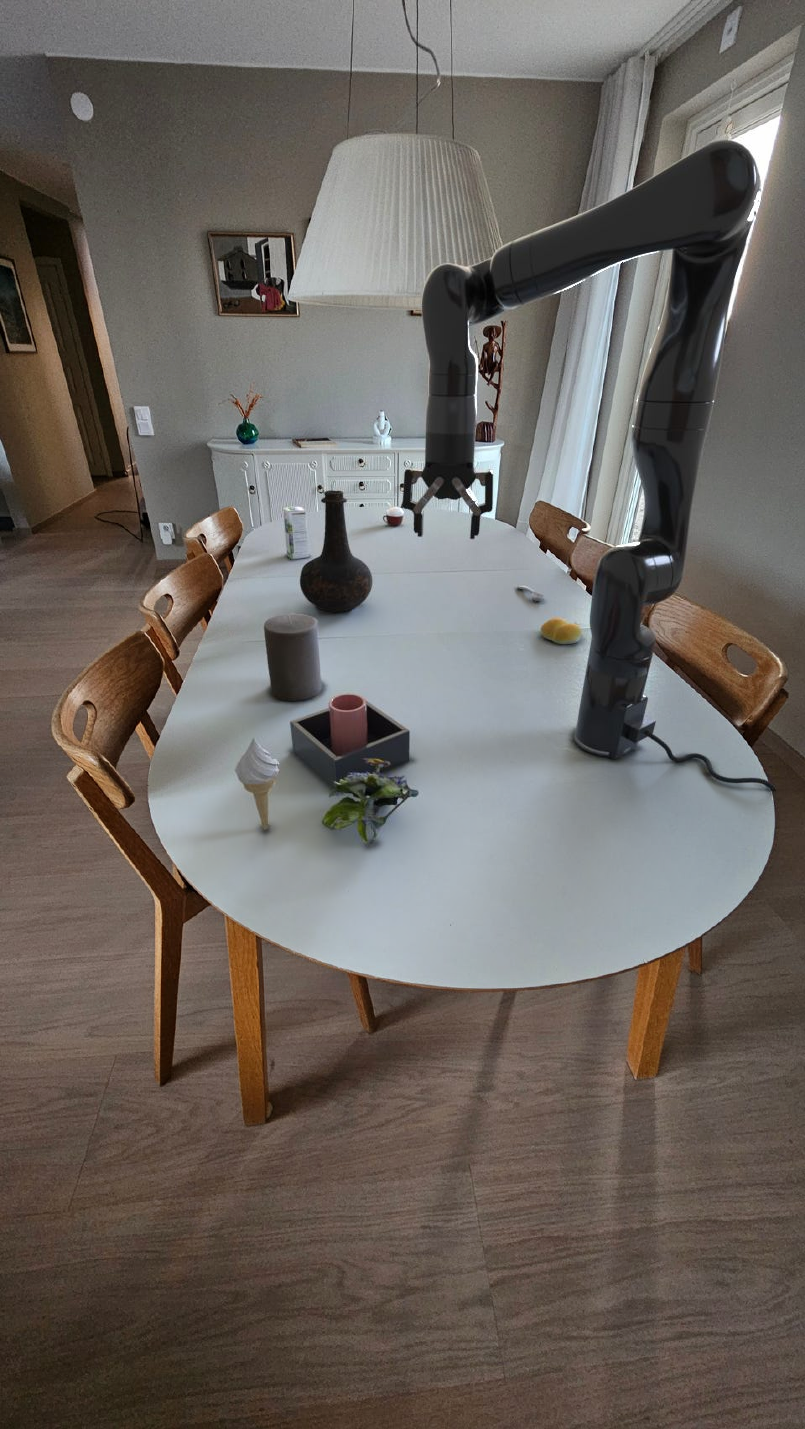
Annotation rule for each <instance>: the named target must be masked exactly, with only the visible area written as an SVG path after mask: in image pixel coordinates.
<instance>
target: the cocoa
mask: <svg viewBox="0 0 805 1429" xmlns="http://www.w3.org/2000/svg"><path fill="white" fill-rule="evenodd" d="M402 504H403V501H402V502H401V504H400V507H399V506H392V507H390V508H388V509H386V511H385V515H383V516H382V520H383V522H384V523H385V524H387V525H389V526H390V527H398V526H400V525H402V523H403V520H404V510H403V509H404V508H403V506H402Z"/></svg>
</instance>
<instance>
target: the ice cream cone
mask: <svg viewBox="0 0 805 1429" xmlns="http://www.w3.org/2000/svg"><path fill="white" fill-rule="evenodd" d="M270 755H271V753H270V752H268V750H267V749H264V748H263V747H262V745H260V744H259V742H258V741H257V740H256V739H255V738H254V737H252V739H251V741H250V743H249V746H248V747H247V749H246V750H245V752H244V754H243V755H242V756H241V758H240V759H239V761H238V762H237V764H236V766H235V768H234V772H235V774H236V776H237V779H238V781H239V782H240V783H241V784H242V785H243V788H244V789H245V791H246V792H249V793H251V794H253V798H254V801H255V806H256V809H257V812H258V816H259V818H260V822H261V827H262V829H263V830H265V831H266V830H268V829H269V803H270V802H269V791H270V790H272V789H273V788H274V787H275V785H276V778H277V777H278V776H279V771H280V769H279V767H278V765H280V762H279V761H278V759H277V758H271V756H270Z"/></svg>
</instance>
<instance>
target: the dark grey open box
mask: <svg viewBox="0 0 805 1429" xmlns="http://www.w3.org/2000/svg"><path fill="white" fill-rule="evenodd" d="M366 707H367V740H368V744H367V745H365V746H362V747H360V748H358V749H355V750H353V751H350V752H348V753H345V754H343V755H340V756H338V757H337V756H336V755H334V754H333V753H332V747H331V732H330V717H329V707H328V708H324V709H322V710H319V711H316V712H314V713H313V712H312V713H310V714H307V715H305V716H302V717H298V718H296V719H293V720H290V721H289V724H290V727H289V728H290V736H291V744H292V752H294V753H295V754H296V755H297V756H298V757H299V758H300V759H301V760H302V761H303V762H305V763H306V764H307V765H308V766H309V767H310V768H311V769H312V770H313V771H314V772H315V773H316V774H317V775H319V777H321V778H322V779H323V781H325V782H326V783H327V784H328V785H329V786H330V787H332V788H333V790H334V789H335V788H336V786H335V785H334V782H337V783H339V784H340V779H342V780H344V781H346V780H345V779H344V778H346V777H347V775H350V774H349V772H350V773H353V772H355V773H356V772H357V773H361V774H362V773H365V774H367V773H366V772H369V774H373V772H374V773H375V772H376V767H375V765H368V764H367V763H365V762H363V759H364V758H372V759H379V760H385V761H388V762H389V763H390V766H388V767H382V768H380V769H379V773H380V774H382V773H384V772H385V771H388V770H390V769H392V768H394V767H397V766H399V765H401V764H404V763H406V762H409V761H410V747H411V746H410V742H411V740H410V737H411V735H410V734H411V732H410V729H408V728H407V727H405V726H403V725H402V724H401V723H399V722H398V721H396V720H395V719H394V718H392V717H390V716H389V715H388V714H387V713H385V712H384V711H382V710H381V709H379V708H378V707H376V706H375V705H374V704H372V703H371V702H369V701H368V700H366Z"/></svg>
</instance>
